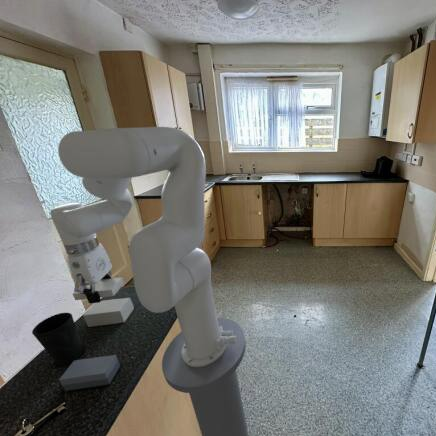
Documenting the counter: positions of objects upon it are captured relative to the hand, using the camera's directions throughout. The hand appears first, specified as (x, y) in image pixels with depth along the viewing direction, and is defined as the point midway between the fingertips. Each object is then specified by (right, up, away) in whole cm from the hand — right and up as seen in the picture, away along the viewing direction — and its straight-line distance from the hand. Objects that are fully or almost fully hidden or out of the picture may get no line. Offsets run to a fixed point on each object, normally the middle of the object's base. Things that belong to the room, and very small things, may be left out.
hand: (102, 294), depth 76 cm
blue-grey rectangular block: (+11, -16, -16) cm, 25 cm away
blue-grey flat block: (+11, -14, -17) cm, 25 cm away
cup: (-1, -14, -10) cm, 17 cm away
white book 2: (+1, -9, +3) cm, 10 cm away
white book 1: (0, -7, +3) cm, 7 cm away
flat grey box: (0, +1, 0) cm, 1 cm away
